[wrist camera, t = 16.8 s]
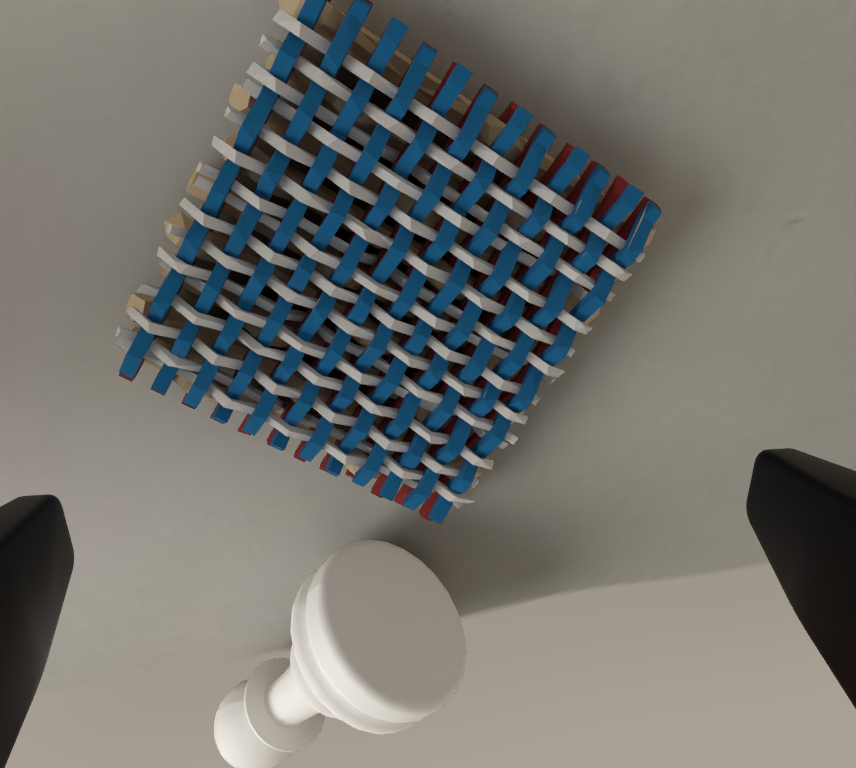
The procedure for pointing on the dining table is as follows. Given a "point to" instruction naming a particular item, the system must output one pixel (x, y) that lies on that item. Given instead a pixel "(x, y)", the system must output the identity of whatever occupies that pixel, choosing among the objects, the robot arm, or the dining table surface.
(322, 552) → the dining table surface
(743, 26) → the dining table surface
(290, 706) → the chess pawn
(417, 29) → the dining table surface
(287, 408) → the woven mat
